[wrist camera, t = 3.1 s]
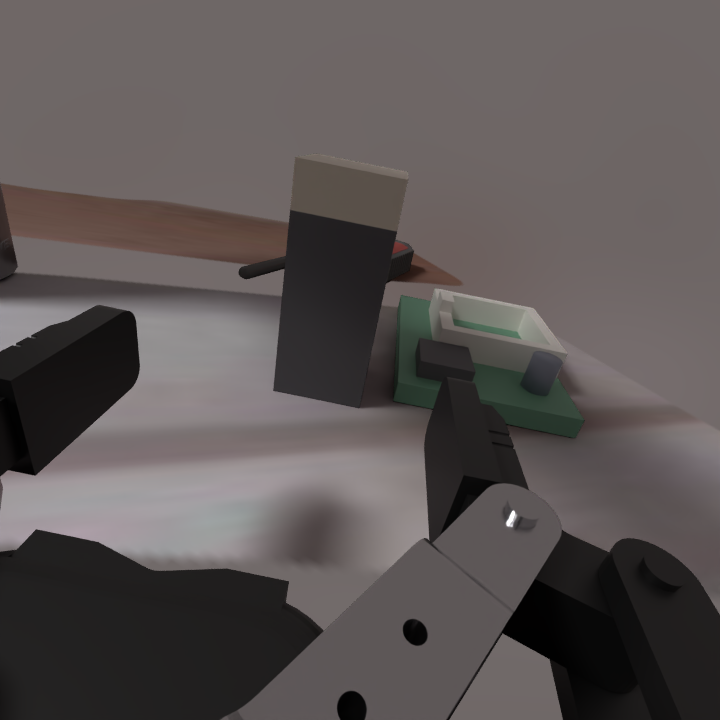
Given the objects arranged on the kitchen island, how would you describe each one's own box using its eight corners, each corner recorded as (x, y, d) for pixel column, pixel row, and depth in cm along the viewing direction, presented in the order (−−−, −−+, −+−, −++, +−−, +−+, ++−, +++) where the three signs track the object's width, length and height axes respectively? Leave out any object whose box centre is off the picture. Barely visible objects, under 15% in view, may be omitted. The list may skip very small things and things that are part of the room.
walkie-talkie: (348, 251, 50) (229, 286, 34) (354, 213, 48) (231, 231, 32) (415, 272, 47) (320, 321, 31) (425, 232, 45) (329, 263, 29)
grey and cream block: (273, 390, 22) (295, 157, 16) (293, 351, 26) (316, 153, 20) (359, 408, 22) (408, 179, 16) (366, 366, 26) (407, 171, 20)
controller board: (393, 400, 23) (409, 338, 21) (397, 308, 35) (408, 264, 33) (575, 438, 23) (606, 378, 21) (515, 332, 35) (532, 289, 33)
